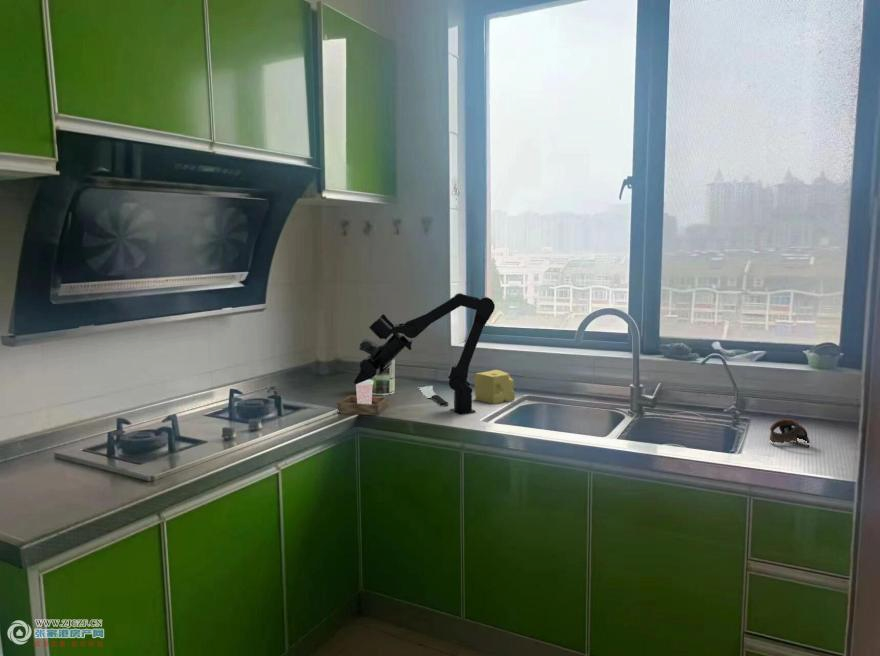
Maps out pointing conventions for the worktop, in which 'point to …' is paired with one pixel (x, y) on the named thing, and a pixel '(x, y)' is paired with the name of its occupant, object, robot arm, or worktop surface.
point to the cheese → (494, 387)
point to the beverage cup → (364, 392)
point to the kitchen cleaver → (433, 395)
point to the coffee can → (384, 381)
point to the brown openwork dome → (788, 431)
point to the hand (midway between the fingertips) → (359, 380)
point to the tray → (363, 406)
